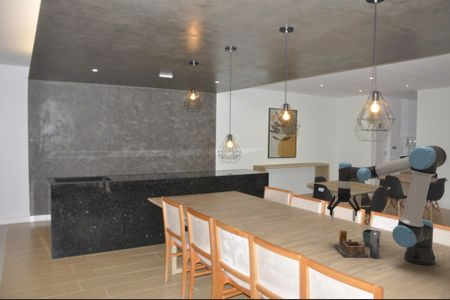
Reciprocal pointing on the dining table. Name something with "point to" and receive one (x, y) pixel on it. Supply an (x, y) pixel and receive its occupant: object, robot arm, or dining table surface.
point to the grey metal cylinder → (374, 244)
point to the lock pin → (343, 236)
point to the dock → (351, 249)
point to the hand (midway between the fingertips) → (343, 221)
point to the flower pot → (367, 236)
